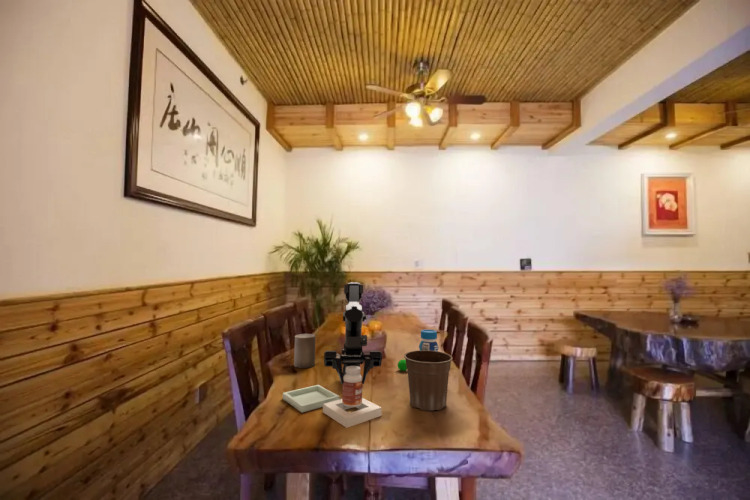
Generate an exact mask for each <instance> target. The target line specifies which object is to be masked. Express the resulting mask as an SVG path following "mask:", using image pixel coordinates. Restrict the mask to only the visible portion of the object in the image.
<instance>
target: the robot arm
mask: <svg viewBox="0 0 750 500" xmlns="http://www.w3.org/2000/svg"><path fill="white" fill-rule="evenodd" d="M343 295H345V300H346V302H347V304H346V305H345V308H344V309H345V311H343V314H342V322H344V325H345V326H344V327H345V328H344V329H345V331H344V332H345V334H344V344H343V348H341V349H342V350H341V353H337V351H338V350H325V352H324V354H323V362H324V363H323V365H324V366H325V367H329V368H330V367H331V368H332V369H333V370H335V371H336V373H337V375H338V377H339V380H340V384H341V385H343V376H344V375H345V374H346V372H345V371H346V367H347V366H359V367H360V368H361V365H362V364H364V365H363V374H362V378H363V383H362V385H364V384H365V382H366V380H367V377H368V374H369V372H370V370H372V369H374V367H381V366H382V363H383V353H382V351H381V350H369V354H365V352H364V350H363V347H367V346H368V335H367V334H362V333H363V332H362V330H363V329H362V327H363V322H365V320H367V315H366V313H365V311H363V306H362V305H361V304H360V302H361V300H362V296H363V295H364V284H361V283H360V282H351V281H350V282H348V283H346V284H344V286H343Z"/></svg>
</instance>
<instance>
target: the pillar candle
mask: <svg viewBox="0 0 750 500" xmlns="http://www.w3.org/2000/svg"><path fill="white" fill-rule="evenodd" d="M293 348H294V350H293V351H294V353H293V355H294V356H293V359H294V360H293V366H294V367H295V368H297V367H298V368H299V369H307V368H312V367H314V366H316V363H315V362H316V335H315V334H314V333H306V332H305V333H300V334H296V335H294V347H293Z"/></svg>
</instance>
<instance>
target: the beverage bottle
mask: <svg viewBox="0 0 750 500" xmlns="http://www.w3.org/2000/svg"><path fill="white" fill-rule="evenodd" d="M437 332H438V331H437V330H434V329H421V331H420V339H422V340H421V341H420V343H419V345H418V348H419V350H430V351H439V345H438V342H437V339H438V333H437Z"/></svg>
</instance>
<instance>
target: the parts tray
mask: <svg viewBox="0 0 750 500" xmlns="http://www.w3.org/2000/svg"><path fill="white" fill-rule="evenodd" d="M339 399H340V395H338V394H337V393H334V392H333V391H331V390H329V389H328V388H325V387H323V386H322V385H320V384H316V385H312V386H311V385H310V386H307V387H303V388H302V387H301V388H299V389H294V390H289V391H286V392H285V391H284V392H282V400H283V401H285V402H286V403H287V404H289V405H291V407H293V408H295V409H296V410H297V411H298V412H300V413H301V414H302V413H306V412H309V411H313V410H316V409H320V408H323V404H325V403H328V402H332V401H336V400H339Z"/></svg>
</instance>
